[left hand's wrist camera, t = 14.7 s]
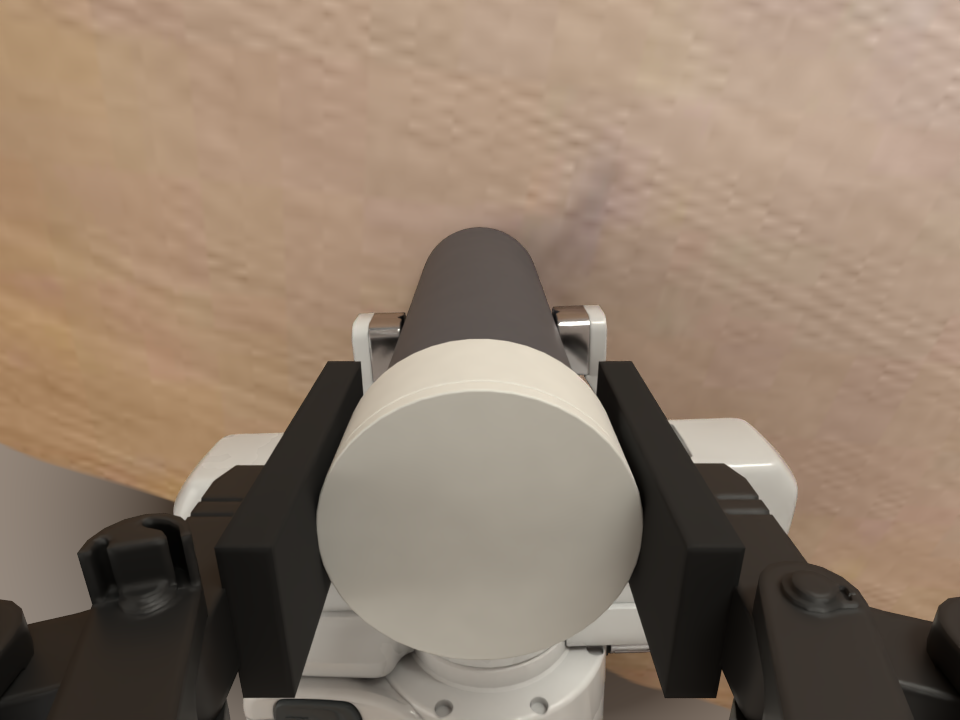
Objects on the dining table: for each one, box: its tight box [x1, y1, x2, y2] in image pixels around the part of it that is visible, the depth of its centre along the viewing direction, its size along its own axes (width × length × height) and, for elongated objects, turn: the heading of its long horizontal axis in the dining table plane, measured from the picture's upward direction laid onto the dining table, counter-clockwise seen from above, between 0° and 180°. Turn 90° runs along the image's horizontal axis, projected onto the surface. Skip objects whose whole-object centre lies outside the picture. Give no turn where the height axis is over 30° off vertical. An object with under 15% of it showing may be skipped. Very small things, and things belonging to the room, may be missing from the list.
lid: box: [316, 339, 643, 660], centre depth 11 cm, size 6×6×2 cm
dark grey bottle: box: [387, 227, 572, 370], centre depth 18 cm, size 5×5×16 cm
